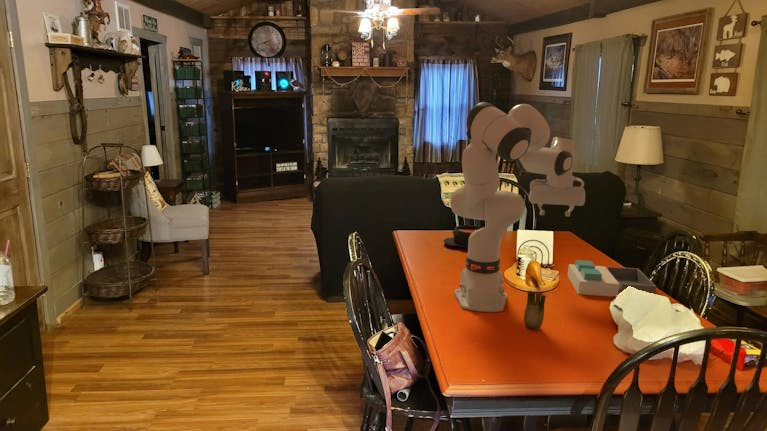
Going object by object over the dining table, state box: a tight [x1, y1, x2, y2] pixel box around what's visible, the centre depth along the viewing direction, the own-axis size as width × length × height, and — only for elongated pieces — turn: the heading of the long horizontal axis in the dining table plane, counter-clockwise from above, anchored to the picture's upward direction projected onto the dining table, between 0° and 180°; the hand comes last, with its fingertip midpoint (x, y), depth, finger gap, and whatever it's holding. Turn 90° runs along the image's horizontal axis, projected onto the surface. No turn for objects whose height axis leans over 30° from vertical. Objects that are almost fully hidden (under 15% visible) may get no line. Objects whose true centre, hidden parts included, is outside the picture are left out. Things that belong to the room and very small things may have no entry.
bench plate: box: [567, 263, 620, 297], centre depth 209 cm, size 20×14×5 cm
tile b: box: [574, 259, 596, 271], centre depth 213 cm, size 6×6×2 cm
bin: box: [607, 266, 657, 295], centre depth 207 cm, size 20×12×5 cm, turn 173°
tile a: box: [581, 268, 602, 281], centre depth 203 cm, size 6×6×2 cm
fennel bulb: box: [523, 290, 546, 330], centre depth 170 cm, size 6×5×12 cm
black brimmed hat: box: [443, 224, 484, 250], centre depth 258 cm, size 25×19×8 cm
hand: (554, 215), depth 207 cm, fingers open, 8 cm apart
